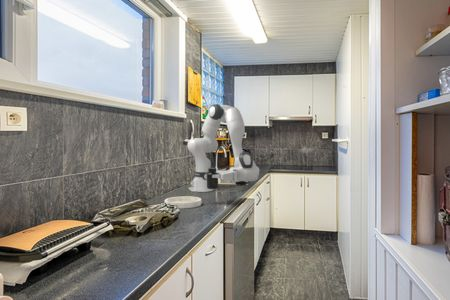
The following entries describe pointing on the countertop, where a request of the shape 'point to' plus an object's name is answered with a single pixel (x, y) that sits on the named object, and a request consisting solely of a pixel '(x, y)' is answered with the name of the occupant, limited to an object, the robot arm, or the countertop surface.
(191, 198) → the ceramic bowl
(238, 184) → the french press
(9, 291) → the countertop surface
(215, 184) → the supplement bottle
